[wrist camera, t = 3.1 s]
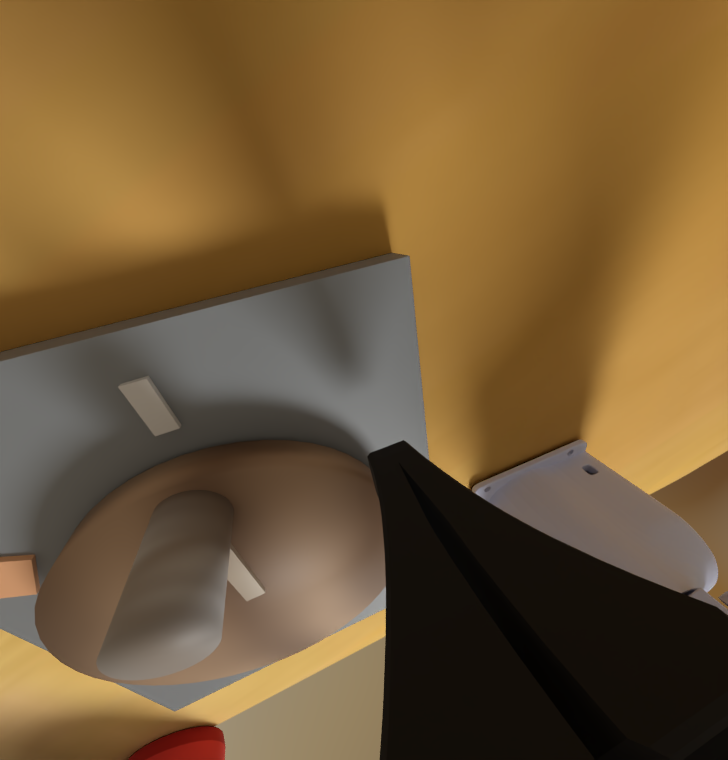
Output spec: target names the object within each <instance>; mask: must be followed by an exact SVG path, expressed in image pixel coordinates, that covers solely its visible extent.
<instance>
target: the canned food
mask: <svg viewBox="0 0 728 760" xmlns="http://www.w3.org/2000/svg"><path fill="white" fill-rule="evenodd" d="M128 760H225V741H224V736H223V732H222V731H221V730H220V729H219V728H217V727H213V726H200V727H194V728H189V729H185V730H181V731H178V732H175V733H172V734H169V735H167V736H164V737H161V738H159V739H157V740H155V741H153V742H151V743H149V744H148V745H146V746H144V747H143V748H141V749H140V750H138V751H137V752H135V753H134V754H133V755H132V756H131V757H130V758H129V759H128Z"/></svg>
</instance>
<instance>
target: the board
mask: <svg viewBox="0 0 728 760" xmlns="http://www.w3.org/2000/svg"><path fill="white" fill-rule="evenodd" d="M256 440H291V441H299V442H307V443H313V444H317V445H321V446H326V447H330V448H333V449H335V450H338V451H341V452H343V453H346V454H348V455H350V456H352V457H353V458H355V459H357V460H359V461H361V462H362V463H363V464H365V465H366V466H367V467H368V468H370V466H369V462H368V458H367V456H368V455H369V453H371V452H374V451H376V450H379V449H382V448H384V447H387V446H389V445H392V444H395V443H397V442H400V441H402V440H404V441H406V442H407V443H409V444H410V445H411V446H412V447H413V448H414V449H416V450H417V451H418V452H419V453H420V454H422V455H423V456H424V457H425V458H427V459H428V460H429V454H428V444H427V433H426V423H425V413H424V402H423V392H422V382H421V371H420V361H419V350H418V340H417V330H416V319H415V309H414V299H413V288H412V278H411V267H410V257H409V256H407V255H402V254H396V253H390V254H386V255H382V256H378V257H374V258H370V259H366V260H362V261H358V262H354V263H350V264H346V265H342V266H338V267H334V268H330V269H326V270H323V271H319V272H315V273H311V274H307V275H303V276H299V277H295V278H291V279H287V280H283V281H279V282H275V283H271V284H267V285H263V286H259V287H255V288H251V289H247V290H244V291H240V292H236V293H232V294H228V295H224V296H220V297H216V298H212V299H208V300H204V301H200V302H196V303H192V304H188V305H184V306H180V307H176V308H172V309H168V310H165V311H161V312H157V313H153V314H149V315H145V316H141V317H137V318H133V319H129V320H125V321H121V322H117V323H113V324H109V325H105V326H101V327H97V328H93V329H89V330H86V331H82V332H78V333H74V334H70V335H66V336H62V337H58V338H54V339H50V340H46V341H42V342H38V343H34V344H30V345H26V346H22V347H18V348H14V349H10V350H7V351H3V352H0V629H2V630H4V631H6V632H9V633H11V634H13V635H15V636H17V637H19V638H21V639H23V640H25V641H28V642H30V643H32V644H34V645H36V646H38V647H40V648H42V649H44V650H47V648H46V647H45V645H44V644H43V643H42V641H41V640H40V638H39V635H38V632H37V629H36V626H35V604H36V600H37V596H38V593H39V589H40V587H41V585H42V584H43V582H44V580H45V578H46V576H47V574H48V573H49V571H50V569H51V567H52V566H53V564H54V563H55V561H56V559H57V558H58V556H59V555H60V553H61V551H62V550H63V548H64V546H65V545H66V543H67V542H68V540H69V538H70V537H71V535H72V534H73V532H74V530H75V529H76V527H77V526H78V525H79V523H80V522H81V521H82V520H83V519H84V517H85V516H86V515H87V514H88V512H89V511H90V510H91V509H92V508H93V507H94V506H96V505H97V504H98V503H99V502H100V501H101V500H102V499H103V498H105V497H106V496H107V495H108V494H109V493H111V492H112V491H113V490H115V489H116V488H118V487H119V486H121V485H122V484H124V483H125V482H127V481H128V480H130V479H131V478H133V477H135V476H137V475H139V474H141V473H143V472H144V471H146V470H148V469H150V468H152V467H154V466H156V465H159V464H161V463H164V462H166V461H169V460H171V459H174V458H176V457H179V456H181V455H184V454H188V453H191V452H195V451H198V450H202V449H205V448H209V447H214V446H219V445H224V444H230V443H235V442H245V441H256ZM385 608H386V586H385V588H384V589H383V590H382V591H381V593H380V594H379V595H378V596H377V597H376V598H375V599H374V600H373V602H372V603H371V604H370V605H369V606H367V607H366V608H365V609H364V610H363V611H362V612H361V613H360V614H359V615H357V616H356V617H355V618H354V619H352V620H351V621H350V622H348V623H347V624H346V625H344V626H343V627H341V628H340V629H339V630H337V631H336V632H338V631H340V630H342V629H344V628H346V627H348V626H350V625H352V624H355V623H357V622H359V621H361V620H363V619H365V618H367V617H369V616H371V615H373V614H375V613H377V612H379V611H381V610H383V609H385ZM336 632H334V633H336ZM334 633H333V634H334ZM331 635H332V634H331ZM329 636H330V635H329ZM47 651H48V650H47ZM274 663H275V662H274ZM272 664H273V663H272ZM269 665H271V664H269ZM269 665H266V666H263V667H260V668H257V669H254V670H251V671H247V672H244V673H240V674H236V675H233V676H228V677H224V678H219V679H215V680H209V681H202V682H196V683H188V684H178V685H155V686H151V685H131V684H124V683H116V682H114V683H116V684H118V685H120V686H122V687H125V688H127V689H129V690H131V691H133V692H135V693H137V694H139V695H141V696H144V697H146V698H148V699H150V700H152V701H154V702H156V703H158V704H160V705H162V706H165V707H167V708H169V709H171V710H173V711H177V710H179V709H181V708H183V707H185V706H187V705H189V704H191V703H193V702H195V701H197V700H199V699H201V698H203V697H205V696H207V695H209V694H211V693H214V692H216V691H218V690H220V689H222V688H224V687H226V686H228V685H230V684H232V683H234V682H236V681H238V680H240V679H242V678H244V677H246V676H248V675H250V674H252V673H254V672H256V671H258V670H261V669H263V668H265V667H267V666H269Z"/></svg>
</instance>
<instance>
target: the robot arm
mask: <svg viewBox="0 0 728 760" xmlns="http://www.w3.org/2000/svg"><path fill="white" fill-rule="evenodd" d="M586 447H587V443H586V442H585V441H583V440H581V439H580V440H577V441H574V442H572V443H570V444H568V445H565V446H563V447H561V448H558V449H556V450H554V451H551V452H549V453H547V454H544V455H542V456H540V457H537V458H535V459H533V460H531V461H528V462H526V463H524V464H521V465H519V466H517V467H514V468H512V469H510V470H507V471H505V472H503V473H500V474H498V475H496V476H494V477H491V478H489V479H487V480H484V481H482V482H480V483H477V484H476V485H475V486H473V488H472V491H471V490H469V489H468V488H466V487H465V486H463V485H462V484H460V483H459V482H458V481H456V480H455V479H453V478H452V477H451V476H449V475H448V474H446V473H445V472H444V471H442V470H441V469H440V468H438V467H437V466H436V465H434V464H433V463H432V462H430V461H429V460H428V459H427V458H425V457H424V456H423V455H422V454H420V453H419V452H418V451H417V450H416V449H414V448H413V447H412V446H411V445H410V444H409V443H407V442H406V441H404V440H402V441H400V442H397V443H395V444H392V445H389V446H387V447H384V448H382V449H379V450H376V451H374V452H371V453H369V455H368V456H367V458H368V462H369V466H370V470H371V474H372V478H373V482H374V486H375V490H376V493H377V496H378V498H379V502H380V509H381V516H382V527H383V538H384V552H385V576H386V646H385V673H384V675H385V676H384V701H383V720H382V734H381V750H380V760H728V609H726V608H725V607H724V606H723V605H722V604H720V603H719V602H718V601H716V600H715V599H714V598H713V597H712V596H710V595H709V594H708V593H707V592H708V591H709V590H711V589H712V588H713V587H714V585H715V584H716V582H717V578H718V568H717V564H716V560H715V558H714V556H713V553H712V552H711V550H710V549H709V547H708V546H707V544H706V543H705V542H704V541H703V539H702V538H701V537H700V536H699V535H698V533H697V532H696V531H695V530H694V529H693V528H692V527H691V526H690V525H689V524H688V523H687V522H685V521H684V520H683V519H682V518H681V517H680V516H678V515H677V514H676V513H674V512H673V511H672V510H670V509H669V508H667V507H666V506H664V505H663V504H662V503H660V502H658V501H657V500H656V499H654V498H653V497H651V496H650V495H648V494H647V493H645V492H644V491H642V490H641V489H640V488H638V487H637V486H635V485H634V484H632V483H631V482H629V481H628V480H626V479H625V478H623V477H622V476H621V475H619V474H618V473H616V472H615V471H613V470H612V469H610V468H609V467H607V466H606V465H604V464H603V463H601V462H600V461H599V460H597V459H596V458H594V457H593V456H591V455H590V454H588V453H587V452H585V450H586ZM719 599H720V600H721V601H722V602H723V603H725V604H726V605H727V606H728V592H725V593H724V594H722V595H721V596H720V597H719Z"/></svg>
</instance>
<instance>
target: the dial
mask: <svg viewBox="0 0 728 760" xmlns="http://www.w3.org/2000/svg"><path fill="white" fill-rule="evenodd" d="M385 586H386V576H385V552H384V538H383V527H382V516H381V509H380V502H379V498H378V496H377V493H376V490H375V486H374V482H373V478H372V474H371V470H370V468H368V467H367V466H366V465H365V464H363V463H362V462H361V461H359V460H357V459H355V458H353V457H352V456H350V455H348V454H346V453H343V452H341V451H338V450H335V449H333V448H330V447H326V446H321V445H317V444H313V443H307V442H299V441H291V440H256V441H245V442H235V443H230V444H224V445H219V446H214V447H209V448H205V449H202V450H198V451H195V452H191V453H188V454H184V455H181V456H179V457H176V458H174V459H171V460H169V461H166V462H164V463H161V464H159V465H156V466H154V467H152V468H150V469H148V470H146V471H144V472H143V473H141V474H139V475H137V476H135V477H133V478H131V479H130V480H128V481H127V482H125V483H124V484H122V485H121V486H119V487H118V488H116V489H115V490H113V491H112V492H111V493H109V494H108V495H107V496H106V497H105V498H103V499H102V500H101V501H100V502H99V503H98V504H97V505H96V506H94V507H93V508H92V509H91V510H90V511H89V512H88V514H87V515H86V516H85V517H84V519H83V520H82V521H81V522H80V523H79V525H78V526H77V527H76V529H75V530H74V532H73V534H72V535H71V537H70V538H69V540H68V542H67V543H66V545H65V546H64V548H63V550H62V551H61V553H60V555H59V556H58V558H57V559H56V561H55V563H54V564H53V566H52V567H51V569H50V571H49V573H48V574H47V576H46V578H45V580H44V582H43V584H42V585H41V587H40V589H39V593H38V596H37V600H36V604H35V626H36V629H37V632H38V635H39V638H40V640H41V641H42V643H43V644H44V645H45V647H46V648H47V650H48V651H49V652H50V653H51V654H52V655H53V656H54V657H56V658H57V659H58V660H59V661H60V662H61V663H63V664H65V665H67V666H68V667H70V668H72V669H74V670H76V671H78V672H80V673H83V674H86V675H88V676H91V677H94V678H98V679H102V680H106V681H110V682H116V683H124V684H131V685H151V686H155V685H178V684H188V683H196V682H202V681H209V680H215V679H219V678H224V677H228V676H233V675H236V674H240V673H244V672H247V671H251V670H254V669H257V668H260V667H263V666H266V665H269V664H272V663H274V662H277V661H279V660H282V659H284V658H287V657H289V656H291V655H293V654H295V653H298V652H300V651H302V650H304V649H306V648H308V647H310V646H312V645H314V644H316V643H317V642H319V641H321V640H323V639H324V638H326V637H328V636H329V635H331V634H333V633H334V632H336V631H337V630H339V629H340V628H341V627H343V626H344V625H346V624H347V623H348V622H350V621H351V620H352V619H354V618H355V617H356V616H357V615H359V614H360V613H361V612H362V611H363V610H364V609H365V608H366V607H367V606H369V605H370V604H371V603H372V602H373V600H374V599H375V598H376V597H377V596H378V595H379V594H380V593H381V591H382V590H383V589H384V588H385Z"/></svg>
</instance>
